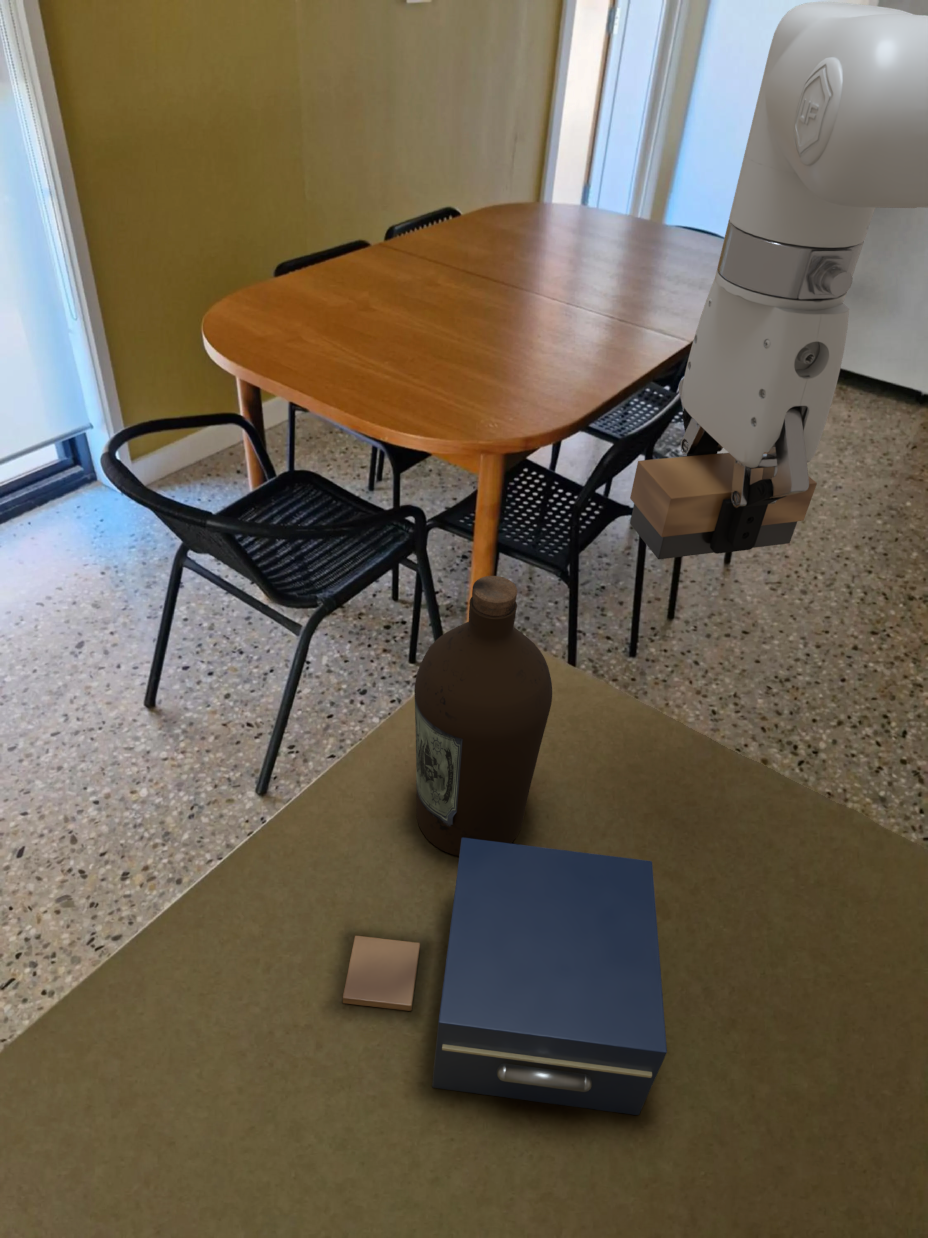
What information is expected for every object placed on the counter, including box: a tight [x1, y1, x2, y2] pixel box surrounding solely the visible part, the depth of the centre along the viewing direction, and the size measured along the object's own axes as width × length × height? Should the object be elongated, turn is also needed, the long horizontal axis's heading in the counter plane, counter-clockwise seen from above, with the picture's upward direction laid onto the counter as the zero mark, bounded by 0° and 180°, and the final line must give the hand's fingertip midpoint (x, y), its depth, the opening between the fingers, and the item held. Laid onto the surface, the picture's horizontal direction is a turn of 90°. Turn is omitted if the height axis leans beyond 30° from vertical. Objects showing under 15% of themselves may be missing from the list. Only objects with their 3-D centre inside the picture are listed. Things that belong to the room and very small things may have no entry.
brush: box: [629, 452, 818, 560], centre depth 62 cm, size 11×5×5 cm, turn 106°
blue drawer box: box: [431, 838, 668, 1116], centre depth 62 cm, size 15×14×9 cm
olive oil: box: [414, 575, 553, 857], centre depth 70 cm, size 11×11×25 cm
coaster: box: [342, 935, 421, 1012], centre depth 66 cm, size 5×5×1 cm
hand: (711, 524), depth 63 cm, fingers closed on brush, 5 cm apart
